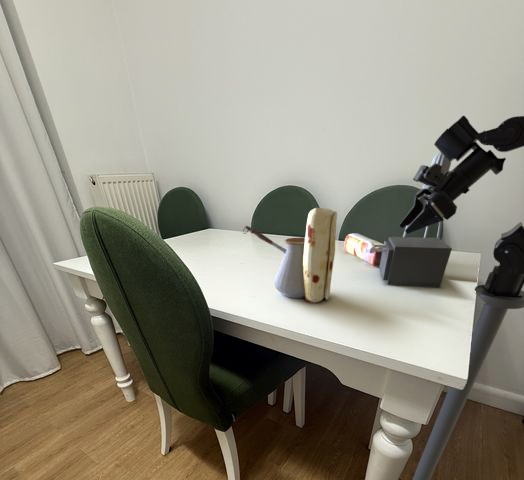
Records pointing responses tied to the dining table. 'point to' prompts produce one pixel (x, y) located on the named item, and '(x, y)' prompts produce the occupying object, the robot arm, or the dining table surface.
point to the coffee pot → (288, 266)
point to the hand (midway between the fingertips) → (403, 229)
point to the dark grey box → (418, 261)
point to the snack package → (363, 248)
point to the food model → (319, 253)
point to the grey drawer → (383, 257)
